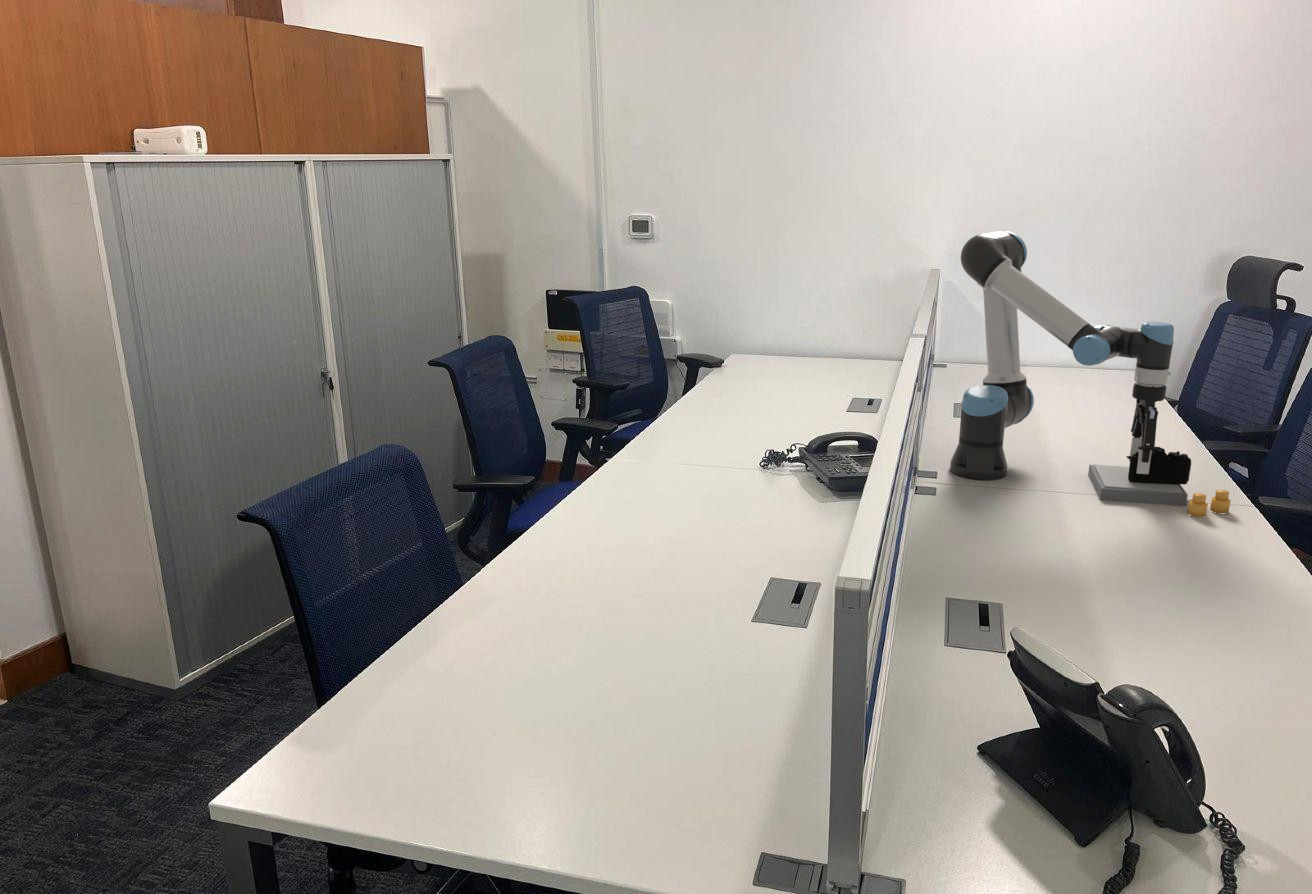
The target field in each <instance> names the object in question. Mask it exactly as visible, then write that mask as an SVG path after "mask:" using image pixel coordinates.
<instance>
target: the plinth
mask: <svg viewBox="0 0 1312 894" xmlns="http://www.w3.org/2000/svg"><path fill="white" fill-rule="evenodd" d="M1128 474H1129V466H1120V465H1108V464H1107V465H1105V464H1103V465H1102V464H1089V467H1088V473H1087V475H1088V478H1089V480H1090V482H1091V484H1092V486H1093V489H1094V490H1095V492H1096V495H1097V497H1098V499H1099V500H1102V501H1114V502H1115V501H1117V502H1129V503H1143V504H1152V505H1153V504H1156V505H1167V506H1180V505H1184V506H1183V507H1186V506H1187V502H1188V497H1189V495H1188V492H1186V490H1185V489H1184V488H1183V486H1182V484H1161V483H1141V482H1132V481H1129V480H1128Z"/></svg>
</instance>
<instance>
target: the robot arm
mask: <svg viewBox="0 0 1312 894" xmlns="http://www.w3.org/2000/svg"><path fill="white" fill-rule="evenodd" d="M1027 257H1028V249H1027V246H1026V243H1025V241H1024V240H1023V239H1022V238H1021V236H1019V235H1018V234H1016V233H1014V232H1012V231H1005V230H1002V231H1001V230H1000V231H999V230H998V231H993V232H987V233H980V234H979V233H978V234H977V235H974V236H973V237H971V238H970V239H969V240H967V242H965V244H964V245H963V247H962V249H961V252H960V263H961V266H962V269H963V270H964V272H965V273H966V274H967V275H968V276H969V277H970V278H971V279H972V280H973V281H974V282H975V283H977V286H978V285H979V287H980V288H981V289H982V290H983V305H984V307H983V309H984V327H985V341H986V342H985V343H986V344H985V345H986V360H987V361H986V362H987V363H986V364H987V374H986V376H985V377H984V378H983V379H982V385H976V386H971V387H970V388H968V389H966V390H965V391H964V392H963V395H962V400H961V404H960V406H961V411H960V420H959V421H960V423H959V435H958V443H957V445H956V449H955V450H954V453H953V455H952V458H951V460H950V463H949V470H950V472H951V473H953V474H954V475H957V476H959V477H962V478H966V479H973V480H980V481H981V480H983V481H985V480H986V481H990V480H991V481H992V480H998V479H1002V478H1004V477H1006V476H1007V474H1008V462H1007V458H1006V454H1005V451H1004V439H1005V429H1007V428H1009V427H1011V426H1014V425H1017V424H1019V423H1021V422H1023V420H1025V419H1026V418H1027V417H1028V416H1029V415H1030V414H1031V412H1032V411H1033V408H1034V404H1035V399H1034V393H1033V392H1032V391H1033V390H1031V388H1029V386H1028V385H1027V383H1028V382H1027V376H1026V375H1025V374H1023V373H1022V372H1021V362H1020V361H1021V360H1020V358H1021V357H1020V342H1019V341H1020V340H1019V321H1018V320H1019V319H1018V310H1019V311H1021V312H1022V313H1023V314H1024V315H1025V316H1027V318H1029V319H1031V320H1032V321H1033V322H1035V323H1036V324H1038V325H1039V326H1040V327H1041V328H1043V329H1044V330H1045V331H1046V332H1048V333H1049V334H1051V335H1052V336H1053V337H1054V338H1056V340H1058V341H1059V342H1061V344H1063V345H1065V346H1066V347H1067V348H1068V349H1070V350H1071V351H1072V355H1073V357H1074V359H1075V361H1076V362H1077V363H1079V364H1081V365H1083V366H1086V367H1087V366H1089V367H1090V366H1096V365H1101V364H1102V363H1104V362H1105V361H1108V360H1110V359H1113V358H1116V357H1119V358H1129V359H1136V362H1135V363H1136V365H1135V371H1134V378H1133V380H1134V383H1133V386H1132V394H1131V395H1132V398H1133V399H1136V400H1135V402H1136V403H1135V410H1134V414H1133V415H1134V416H1133V418H1132V419H1133V420H1132V424H1131V429H1130V432H1131V436H1132V437H1131V444H1130V449H1129V450H1130V451H1129V456H1132V455H1133V454H1135V453H1136V452H1139V457H1138V464H1137V471H1136V473H1138V474H1149V467H1150V460H1151V453H1152V450H1154V449H1155V447H1156V436H1157V435H1156V434H1157V423H1158V422H1157V421H1158V415H1159V411H1158V407H1156V403H1157V402H1162V401H1164V400H1165V399H1166V393H1167V386H1166V384H1168V379H1169V378H1168V376H1171V373H1172V372H1171V371H1170V364H1171V358H1172V351H1173V346H1174V343H1175V342H1174V337H1175V336H1174V334H1175V327H1174V325H1173V324H1171V323H1170V322H1169V323H1168V322H1165V321H1144V322H1143V323H1142V324H1141V326H1140V328H1133V327H1123V326H1113V325H1110V324H1106V325H1104V324H1103V325H1102V324H1096V325H1094V326H1093V325H1091V324H1090V323H1089V322H1088V321H1087V320H1085V319H1084V318H1083V317H1081V316H1080V315H1078V313H1076V312H1075V311H1073V310H1072V309H1070V308H1069V307H1068V306H1066V305H1065V304H1064V303H1062V302H1061V301H1060V300H1059V299H1057V298H1056V297H1055V296H1053V295H1052V294H1050V293H1049V292H1048V291H1047V290H1046V289H1044V288H1043V287H1041V286H1040V285H1039V284H1037V283H1036V282H1035V281H1033V280H1032V279H1030V278H1029V277H1028V276H1026V274H1024V273H1022V267H1023V266H1024V264H1025V262H1026V261H1027ZM1128 461H1129V463H1130V459H1128Z"/></svg>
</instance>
